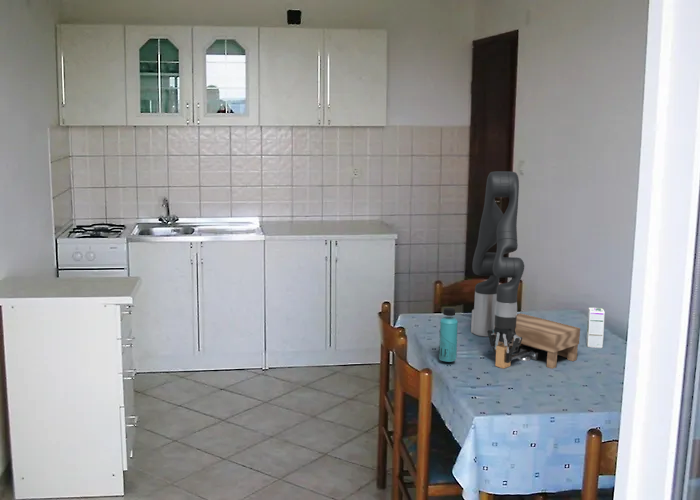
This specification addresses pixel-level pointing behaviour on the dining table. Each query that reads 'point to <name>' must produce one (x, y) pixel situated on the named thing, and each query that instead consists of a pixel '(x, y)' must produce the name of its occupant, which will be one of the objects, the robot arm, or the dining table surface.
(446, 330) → the beverage bottle
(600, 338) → the syrup box
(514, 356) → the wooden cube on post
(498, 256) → the robot arm
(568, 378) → the dining table surface
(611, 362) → the dining table surface
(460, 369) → the dining table surface
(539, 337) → the small wooden stool
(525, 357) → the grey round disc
